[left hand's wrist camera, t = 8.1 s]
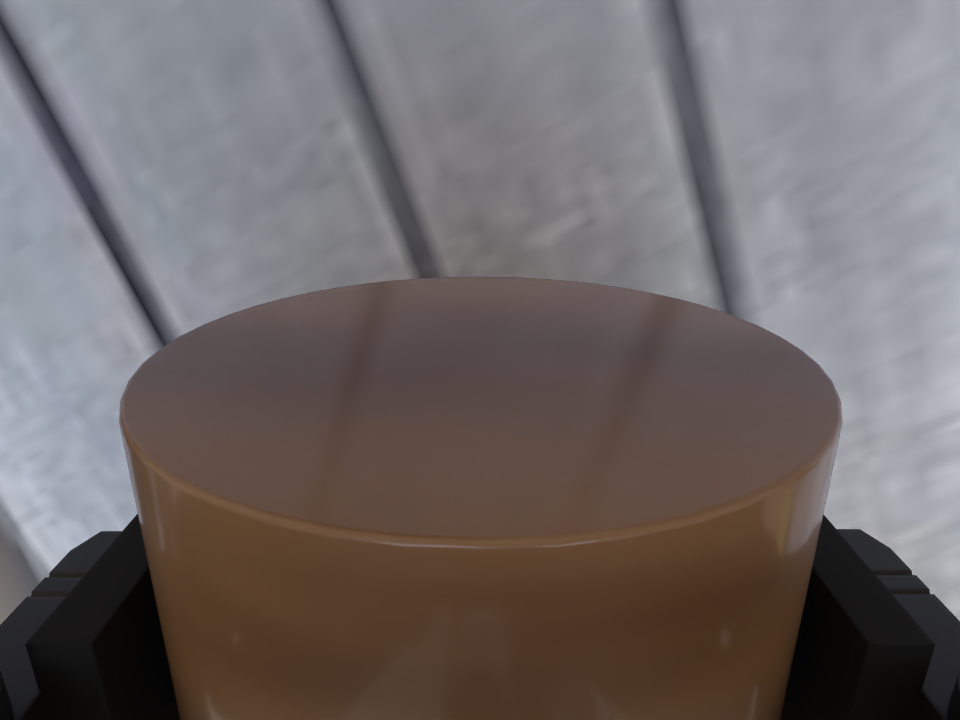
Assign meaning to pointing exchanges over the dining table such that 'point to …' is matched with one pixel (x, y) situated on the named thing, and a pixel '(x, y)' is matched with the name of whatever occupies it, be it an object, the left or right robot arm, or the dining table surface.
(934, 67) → the dining table surface
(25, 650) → the left robot arm
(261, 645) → the rod
